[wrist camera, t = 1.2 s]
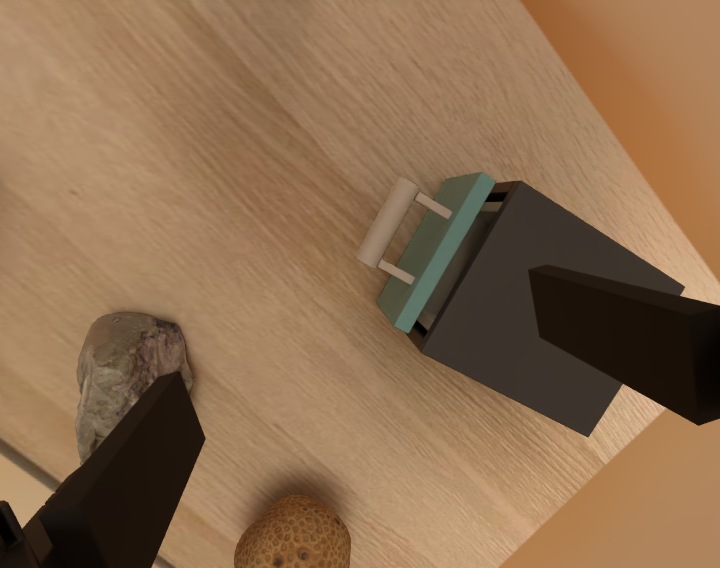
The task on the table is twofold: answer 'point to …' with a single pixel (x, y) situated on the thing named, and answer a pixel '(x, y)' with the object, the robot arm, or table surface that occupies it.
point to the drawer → (428, 245)
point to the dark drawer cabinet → (530, 308)
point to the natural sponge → (295, 537)
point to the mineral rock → (122, 370)
